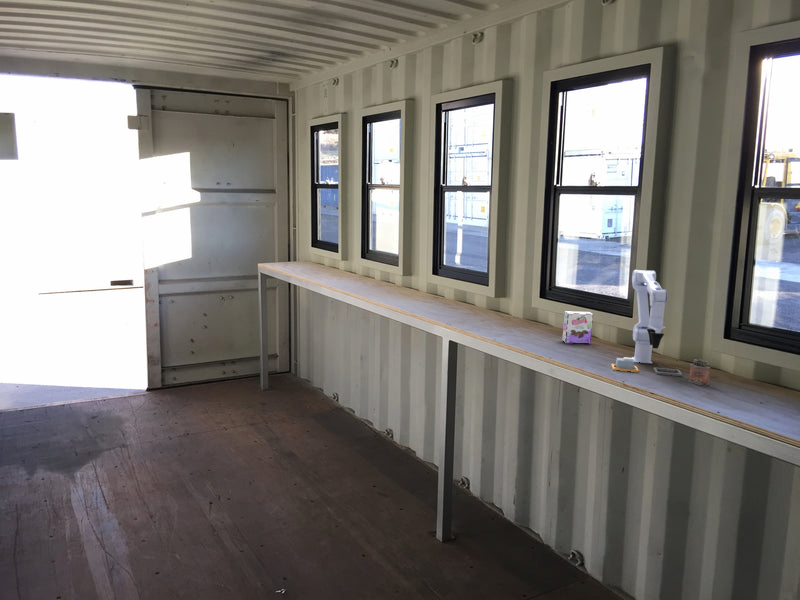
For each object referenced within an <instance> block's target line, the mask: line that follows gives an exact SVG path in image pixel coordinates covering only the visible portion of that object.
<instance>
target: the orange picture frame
mask: <svg viewBox="0 0 800 600" xmlns="http://www.w3.org/2000/svg"><path fill="white" fill-rule="evenodd" d="M610 366H611V368H612V370H613V371H616V370H620V372H627V371H631V372H630V373H639V369H638V367H637V366H636V365H634V368H635V369H623V368H616V367H614V366H616V363H611V365H610Z"/></svg>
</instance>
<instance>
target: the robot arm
mask: <svg viewBox="0 0 800 600" xmlns="http://www.w3.org/2000/svg"><path fill="white" fill-rule="evenodd" d="M631 275H632V276H631V282H632V283H631V284H632V289H633V290H635V293H636V303H637V314H638V322H637V323H636V324H635V325H634V326H633V327H632V328H633V329H632V340H633V341H634V342H635V347H634V356H632V357H631V358H633V359H634V363H639V362H640V364H641V363H642V364H651V365H652V364H653V361H652V351H653V350H652V349H659V347H660V344H661V340H662V339H663V337H664V336H665V334H664V332H663V333H661V332H662V330H665V329H666V328H667V327H666V326H664V317H665V306H666V303H667V302H668V298H669V297H668V296H669V294H668V291H667V289H663V288H662V287H661V284H660V283H659V282H658V281H656V280H657V273H656V271H655V270H640V269H634V270H633V271H632V274H631ZM648 295H649V298H648ZM649 306H650V308H649ZM649 310H650V311H649Z"/></svg>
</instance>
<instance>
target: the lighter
mask: <svg viewBox="0 0 800 600" xmlns="http://www.w3.org/2000/svg"><path fill="white" fill-rule="evenodd" d="M707 365H708V366H707ZM709 365H710V361H706V360H703V359H701V358H700V359H695V358H694V359H693V363H690V364H689V367H690V370H689V377H688V382H689V383H691V384H696V385H700V386H705V385H708V386H709V383H710V382H709V380H710V379H709V378H710V372H711V371H710V370H711V367H710V366H709Z"/></svg>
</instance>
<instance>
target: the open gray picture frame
mask: <svg viewBox="0 0 800 600" xmlns="http://www.w3.org/2000/svg"><path fill="white" fill-rule="evenodd" d="M652 370H653V371H655V372H654V373H655V375H660V374H662V375H663V376H671V375H672V376H673V377H683V373H682V372H681V371H680V370H679V369H674V368H664V367H653V369H652ZM658 370H660V371H658Z"/></svg>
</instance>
